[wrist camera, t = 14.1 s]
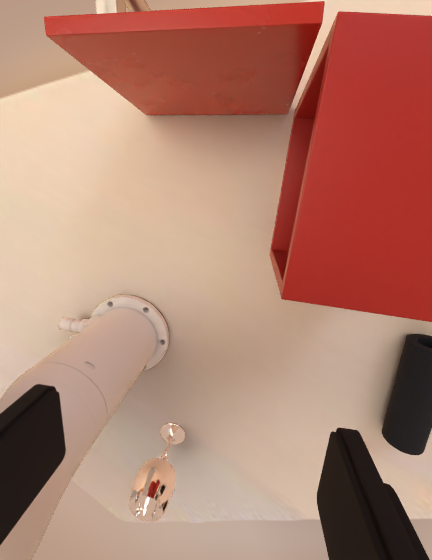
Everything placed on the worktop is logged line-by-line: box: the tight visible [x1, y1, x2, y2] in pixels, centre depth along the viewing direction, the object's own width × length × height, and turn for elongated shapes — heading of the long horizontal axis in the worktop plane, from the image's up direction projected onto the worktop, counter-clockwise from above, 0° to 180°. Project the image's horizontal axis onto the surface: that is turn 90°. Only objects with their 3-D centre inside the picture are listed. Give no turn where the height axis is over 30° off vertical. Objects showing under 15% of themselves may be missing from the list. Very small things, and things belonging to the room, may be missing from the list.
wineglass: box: [129, 423, 185, 522], centre depth 41 cm, size 6×6×12 cm
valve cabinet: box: [270, 12, 432, 322], centre depth 25 cm, size 12×17×17 cm
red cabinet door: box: [44, 0, 324, 115], centre depth 23 cm, size 7×17×17 cm, turn 88°
